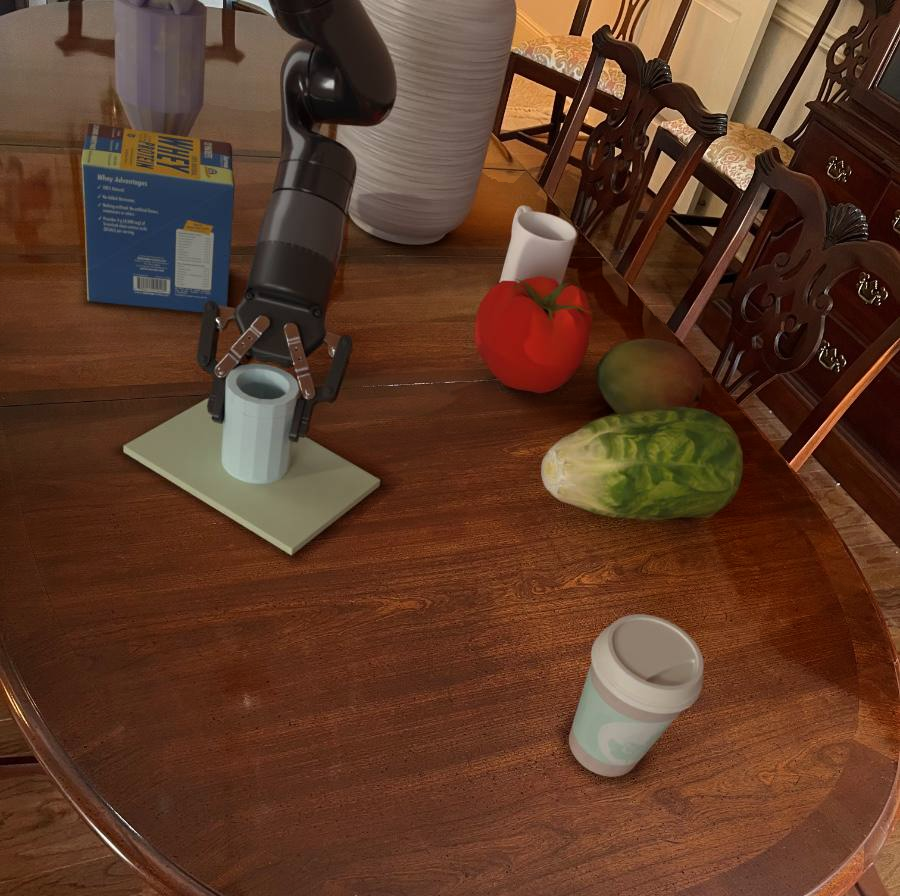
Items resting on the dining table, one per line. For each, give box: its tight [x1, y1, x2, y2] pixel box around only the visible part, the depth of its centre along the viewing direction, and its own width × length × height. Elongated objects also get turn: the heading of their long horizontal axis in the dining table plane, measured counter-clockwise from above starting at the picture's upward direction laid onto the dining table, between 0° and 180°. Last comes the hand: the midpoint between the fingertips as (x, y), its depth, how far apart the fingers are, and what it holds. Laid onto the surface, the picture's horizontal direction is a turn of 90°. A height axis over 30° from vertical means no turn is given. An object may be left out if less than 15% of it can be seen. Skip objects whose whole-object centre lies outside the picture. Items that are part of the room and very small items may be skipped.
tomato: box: [474, 276, 593, 394], centre depth 114 cm, size 13×14×12 cm
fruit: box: [594, 338, 703, 414], centre depth 113 cm, size 12×13×10 cm
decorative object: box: [113, 0, 208, 137], centre depth 119 cm, size 10×10×30 cm
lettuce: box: [540, 407, 744, 522], centre depth 100 cm, size 12×21×11 cm, turn 109°
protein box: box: [80, 122, 236, 314], centre depth 109 cm, size 10×15×16 cm
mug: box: [499, 205, 578, 286], centre depth 129 cm, size 12×8×10 cm, turn 18°
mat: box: [123, 397, 381, 556], centre depth 95 cm, size 20×14×1 cm
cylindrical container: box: [222, 363, 300, 484], centre depth 92 cm, size 6×6×9 cm
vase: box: [335, 0, 518, 246], centre depth 128 cm, size 20×20×34 cm
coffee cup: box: [568, 613, 705, 778], centre depth 76 cm, size 8×8×12 cm
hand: (255, 430), depth 90 cm, fingers closed on cylindrical container, 6 cm apart
